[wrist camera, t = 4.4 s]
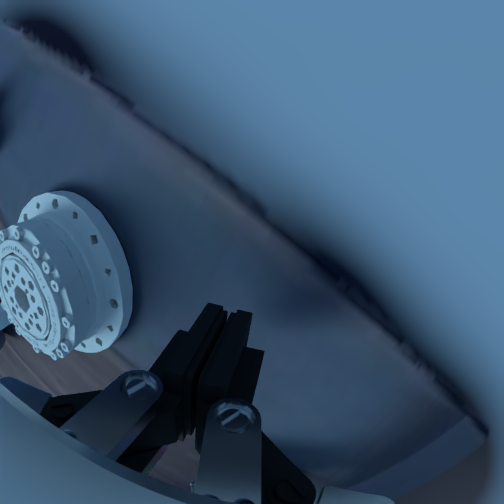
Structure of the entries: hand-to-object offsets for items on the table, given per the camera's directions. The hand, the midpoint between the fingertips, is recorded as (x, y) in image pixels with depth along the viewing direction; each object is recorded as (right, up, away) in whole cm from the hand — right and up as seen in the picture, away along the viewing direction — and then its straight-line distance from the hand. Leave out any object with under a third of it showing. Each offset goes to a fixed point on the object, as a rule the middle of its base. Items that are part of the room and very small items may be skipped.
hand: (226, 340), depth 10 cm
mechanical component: (-10, +2, +5) cm, 11 cm away
